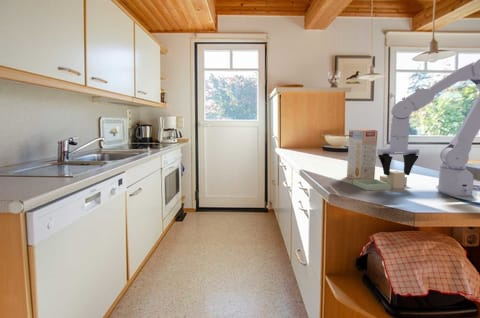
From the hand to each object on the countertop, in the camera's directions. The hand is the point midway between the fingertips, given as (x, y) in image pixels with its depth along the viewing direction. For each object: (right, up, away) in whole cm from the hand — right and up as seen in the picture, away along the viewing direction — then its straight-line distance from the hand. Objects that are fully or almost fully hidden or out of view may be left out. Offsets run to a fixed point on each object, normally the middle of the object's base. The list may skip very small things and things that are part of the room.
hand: (396, 174), depth 112 cm
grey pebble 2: (+4, -4, +4) cm, 7 cm away
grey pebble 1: (-2, -4, +4) cm, 6 cm away
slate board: (+1, -5, +2) cm, 5 cm away
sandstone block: (-1, -5, 0) cm, 4 cm away
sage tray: (-9, -5, +1) cm, 10 cm away
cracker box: (-8, -4, +13) cm, 16 cm away
